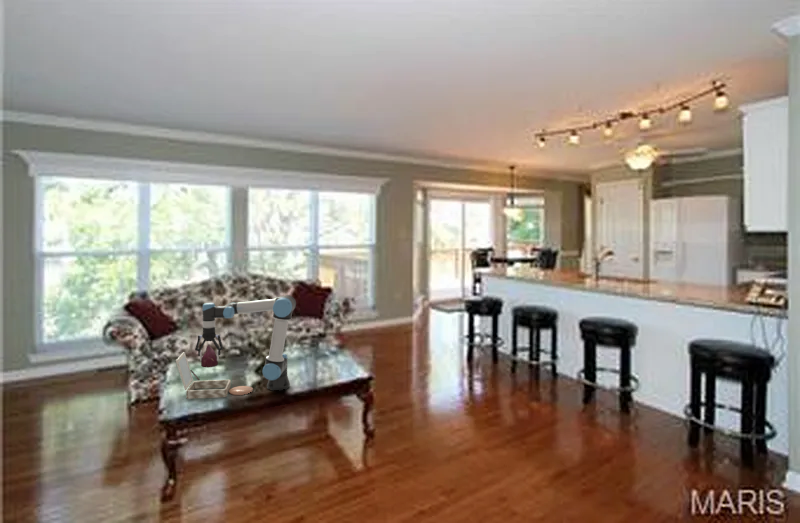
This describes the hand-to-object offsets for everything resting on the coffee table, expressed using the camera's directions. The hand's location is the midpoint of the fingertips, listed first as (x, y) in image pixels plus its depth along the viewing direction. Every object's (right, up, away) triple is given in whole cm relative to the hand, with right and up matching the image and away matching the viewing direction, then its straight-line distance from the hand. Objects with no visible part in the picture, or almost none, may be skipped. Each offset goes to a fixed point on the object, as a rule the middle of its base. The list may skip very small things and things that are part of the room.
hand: (209, 360), depth 325 cm
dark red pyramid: (0, -3, 0) cm, 3 cm away
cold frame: (-1, -21, +2) cm, 21 cm away
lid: (-15, -6, -2) cm, 16 cm away
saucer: (+19, -21, +6) cm, 29 cm away
